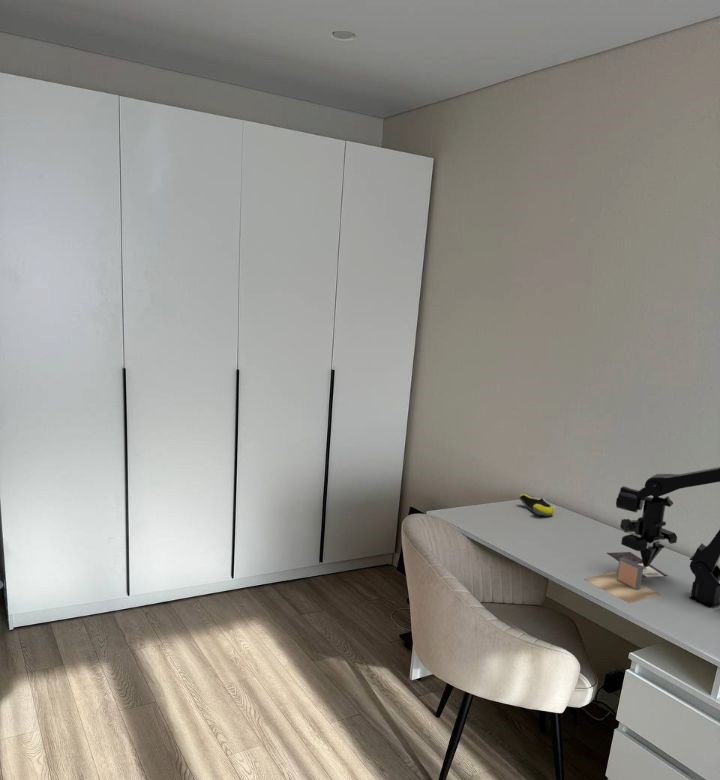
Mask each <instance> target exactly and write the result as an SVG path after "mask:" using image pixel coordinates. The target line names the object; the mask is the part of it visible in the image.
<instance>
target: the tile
mask: <svg viewBox="0 0 720 780" xmlns="http://www.w3.org/2000/svg"><path fill="white" fill-rule="evenodd" d="M617 567H618V568H617V572H616V573H617V581H619V582H621V583H623V584H625V585H627V586H629V587H631V588H633V589H635V590H640V587H641V585H642V580H643V579H642V578H643V577H642V574H643V566H641V565H639V564H636V563H634V562H632V561H630V560H628V559H625V558H620V559H619V561H618V566H617Z"/></svg>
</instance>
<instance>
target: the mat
mask: <svg viewBox="0 0 720 780" xmlns="http://www.w3.org/2000/svg"><path fill="white" fill-rule="evenodd" d="M617 573H618V572H616V571H611V572H608V573H603V574H599V575H596V576H592V577H587V578H584V579H583V580H584V581H586V582H588V583H590V584H592V585H593V586H595V587H597V588H599V589H602V590H603V591H606V592H607V593H609V594H611V595H613V596H615V597H617V598H619V599H621V600H623V601H624V602H627V603H629V604H631V603H635V602H636V603H637V602H639V601H642V600H645V599H650V598H652V597H653V598H654V597H656V596H660V595H661V593H659V592H657V591H655V590H653V589H651V588H649V587H647V586H646V585H643V584H641V587H640V590H635V589H633V588H631V587H629V586H627V585H625V584H623V583H621V582H619V581H617Z"/></svg>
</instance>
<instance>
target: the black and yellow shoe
mask: <svg viewBox="0 0 720 780" xmlns="http://www.w3.org/2000/svg"><path fill="white" fill-rule="evenodd" d="M519 500H520V501H521V503H522V504H523V505H524V506H525V507H526V508H527V509H529V510H530V511H531V512H533V513H534V514H535V515H538V516H543V517H545V518H548V517H550V516H553V515H554V510H555V508H556V506H554V505H552V506H551V505H550V504H549V503H548V502H546V500H545V499H544V498H538V499H537V498H533V497H531V496H529V495H528V494H525V493H521V494H520V496H519Z"/></svg>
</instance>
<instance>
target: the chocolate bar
mask: <svg viewBox="0 0 720 780" xmlns="http://www.w3.org/2000/svg"><path fill="white" fill-rule="evenodd" d="M606 554H607V555H608V556H610V557H612V558H613V559H615V560H616V561H618V562H619V559H620V558H625V559H628V560H630V561H632V562H634V563H636V564H639V565H641V566H643V562H642V558H640V557H639V556H637V555H635V554H634V553H633V552H631V551H623V552H622V551H621V552H619V551H618V552H606ZM655 577H657V578H658V577H668V575H667V574H665V573H664V572H662V571H661V570H659V569H658V568H656V567H654V566H653V565H651V564H650V565H649V566H648V567H645V566H643V574H642V578H655Z"/></svg>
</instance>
